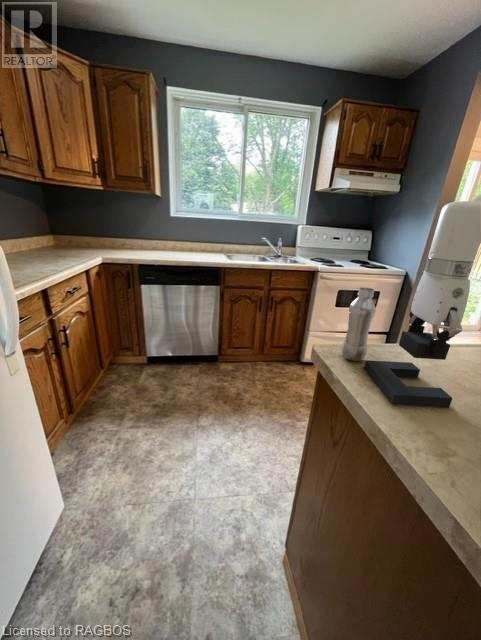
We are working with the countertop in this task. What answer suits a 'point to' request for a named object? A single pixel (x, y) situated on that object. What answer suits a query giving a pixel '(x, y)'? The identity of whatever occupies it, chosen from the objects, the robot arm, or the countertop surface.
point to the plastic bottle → (359, 325)
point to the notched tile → (397, 391)
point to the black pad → (419, 344)
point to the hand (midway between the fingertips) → (422, 347)
